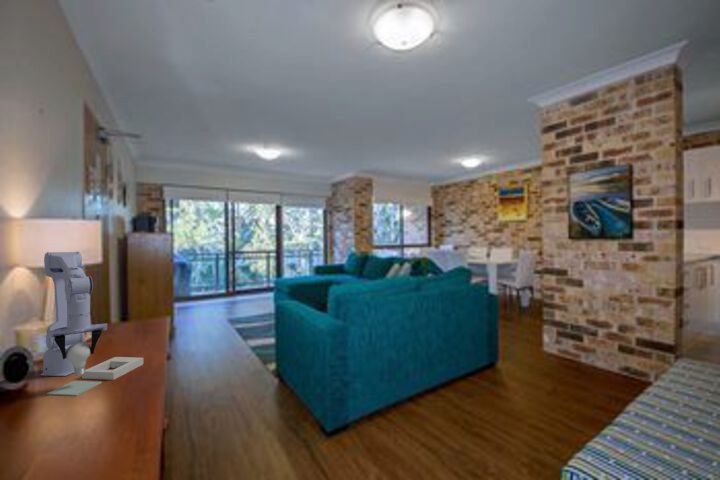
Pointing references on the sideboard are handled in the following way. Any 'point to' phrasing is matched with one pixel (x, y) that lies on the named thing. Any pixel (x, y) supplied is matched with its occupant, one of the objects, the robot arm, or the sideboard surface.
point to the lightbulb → (78, 356)
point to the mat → (74, 388)
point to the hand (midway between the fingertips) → (78, 355)
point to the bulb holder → (119, 363)
